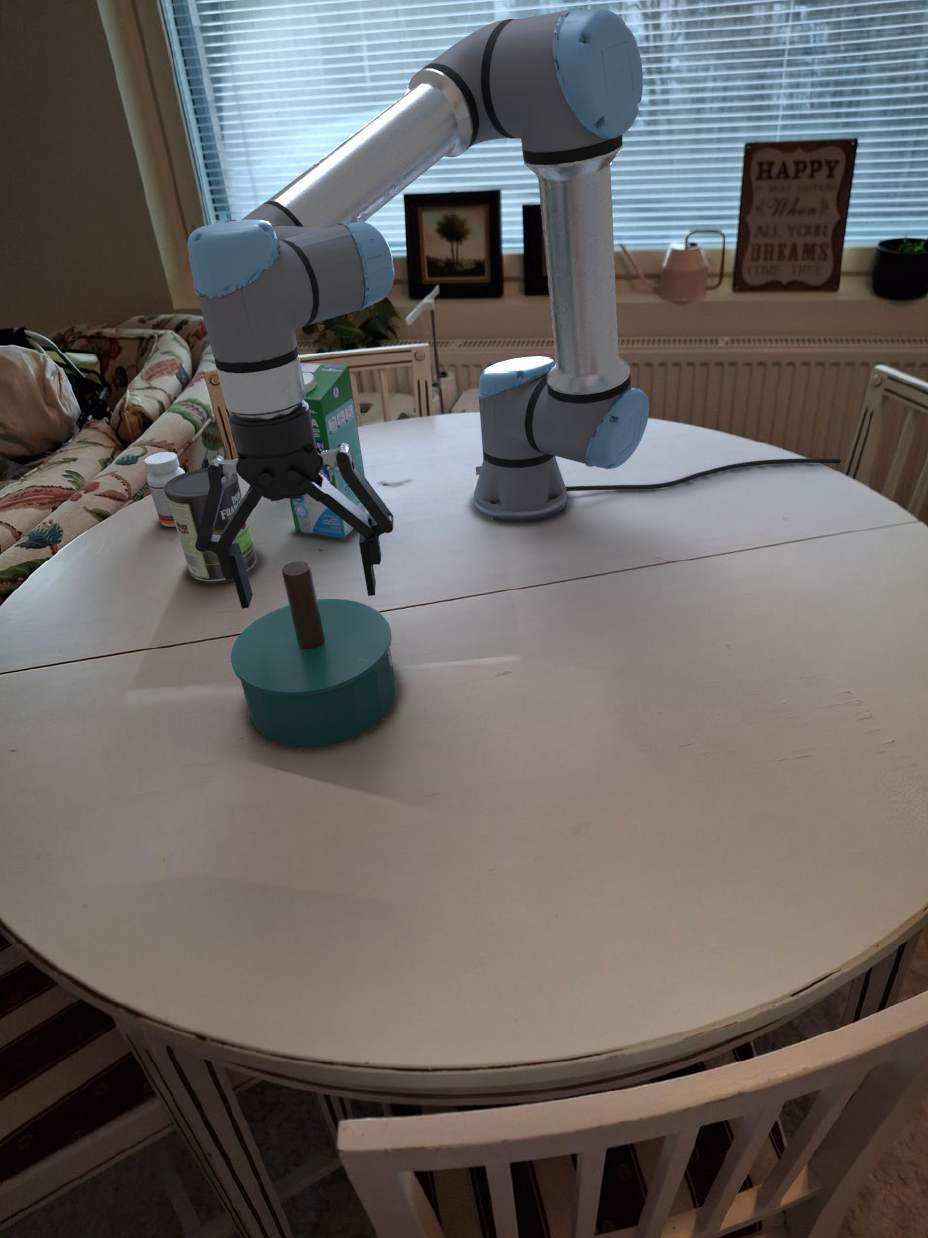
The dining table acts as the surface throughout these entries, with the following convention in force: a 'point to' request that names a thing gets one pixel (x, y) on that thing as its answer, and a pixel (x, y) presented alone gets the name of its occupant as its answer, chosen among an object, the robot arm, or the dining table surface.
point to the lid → (310, 641)
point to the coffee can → (187, 512)
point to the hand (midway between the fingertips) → (309, 595)
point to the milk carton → (329, 443)
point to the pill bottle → (162, 482)
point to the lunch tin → (324, 710)
